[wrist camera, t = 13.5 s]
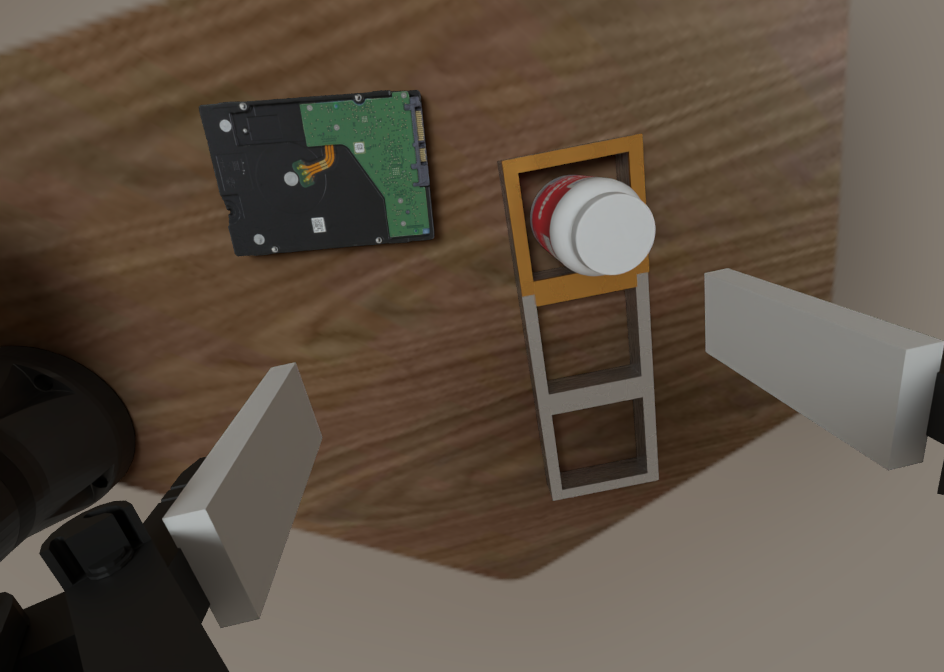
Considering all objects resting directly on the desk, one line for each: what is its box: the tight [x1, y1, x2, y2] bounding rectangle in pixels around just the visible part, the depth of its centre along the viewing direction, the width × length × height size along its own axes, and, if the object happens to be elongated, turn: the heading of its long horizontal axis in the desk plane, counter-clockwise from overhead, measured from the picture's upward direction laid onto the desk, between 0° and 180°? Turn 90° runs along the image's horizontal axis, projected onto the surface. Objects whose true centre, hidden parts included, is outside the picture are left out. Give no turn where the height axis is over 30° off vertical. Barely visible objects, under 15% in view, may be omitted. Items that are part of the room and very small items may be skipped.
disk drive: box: [199, 90, 434, 256], centre depth 34 cm, size 10×3×15 cm
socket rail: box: [497, 134, 659, 501], centre depth 40 cm, size 10×30×3 cm, turn 11°
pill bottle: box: [530, 175, 655, 276], centre depth 32 cm, size 6×6×11 cm
